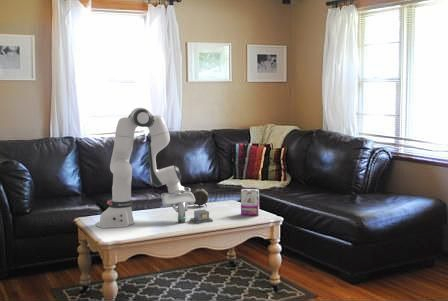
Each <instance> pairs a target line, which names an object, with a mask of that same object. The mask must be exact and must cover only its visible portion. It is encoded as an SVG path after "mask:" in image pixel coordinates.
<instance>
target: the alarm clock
mask: <svg viewBox="0 0 448 301" xmlns="http://www.w3.org/2000/svg"><path fill="white" fill-rule="evenodd" d="M199 184H200V185H201V186H200V187H199ZM197 186H198V189H195V190H194V192H192V193H193V195H194V198H195V203H194V204H193V206H194V207H195V206H199V208H201V206H204V205H205V206H206V207H207V206H208V205H207V202H208V200H209V199H210V198H209V193H208V192H207V190H205V189H204V188H203V186H204V185H203V184H202V183H201V182H200V183H198V184H197Z"/></svg>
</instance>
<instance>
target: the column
mask: <svg viewBox="0 0 448 301" xmlns="http://www.w3.org/2000/svg"><path fill="white" fill-rule="evenodd" d="M177 208H178V210H179V211H178V212H177V223H179V224H184V223H186V211H185V202H178V206H177Z"/></svg>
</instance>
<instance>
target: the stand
mask: <svg viewBox="0 0 448 301" xmlns="http://www.w3.org/2000/svg"><path fill="white" fill-rule="evenodd" d="M190 221H191V222H192V223H194V224H203V223H204V224H206V223H210V222H214V219H213V218H210V211H209V210H206V209H198V210H197V209H196V210H194V211H193V217H192V218H191V217H190Z"/></svg>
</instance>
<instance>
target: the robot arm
mask: <svg viewBox="0 0 448 301" xmlns="http://www.w3.org/2000/svg"><path fill="white" fill-rule="evenodd" d="M137 127H140V128H147V129H148V132H149V134H150V140H151V141H150V144H149V145H148V149H147V150H148V162H149V170H150V172H149V173H150V175H149V178H150V179H149V180H150V183H151V184H152V186H154V187H156V188H159V187H162V186H163V185H164V186H165V185H166V187H167V191H168V192H163V193H161V194H160V199H161V202H162V206H163V207H164V208H172V209H173V210H174V211H175V213H178V211H179V210H178V202H185V212H188V211H189V209H188V206H194V205H195V198H194V195H193V193H194V192H191V191H192V190H191V188H190V187H185V186H183V185H182V184H181V180H182V175H181V171H180V168H179V167H178V166H176V165H170V166H167V167H163V168H160V169H157V168H158V167H157V162H156V160H157V158H156V157H157V154H159V152H161V151H162V150H163V149H164V148H167V146H168V145H169V143H170V141H171V137H170V135H171V134H170V131H169V128H168V126H167V123H166V121H165V119H164V117H163V116H162V115H160V114H155V115H153V114H152V113H151V112H150V111H149V110H148V109H146V108H144V107H137V108H134V109H133V110H132V111H131V112H130V114H129V116H126V117H122V118H121V117H120V118H119V120H117V124H116V128H115V129H116V130H115V132H114V133H115V134H114V143H113V150H112V155H111V158H110V159H111V160H110V164H109V169H110V172H111V173H112V187H111V192H112V193H111V194H112V199H111V200H107V202H106V203H107V204H108V206H109V207H107V209H106V210H104V211H102V213H100V217H99V220H98V221H96V224H95V225H96V226H97V227H98V228H100V229H109V228H124V227H125V228H127V227H129V226H130V225H134V223H135V219H134V216H133V199H132V180H133V178H132V177H133V166H132V164H131V163H130V159H131V155H132V152H133V148H134V139H135V138H134V137H135V132H136V129H137Z"/></svg>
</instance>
